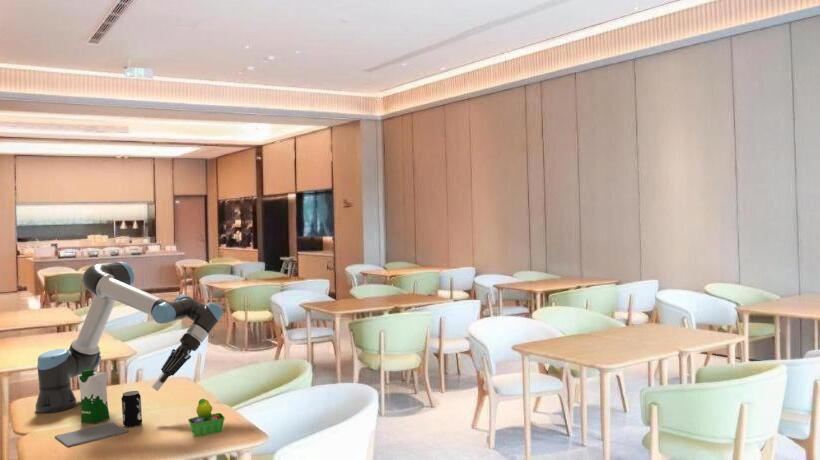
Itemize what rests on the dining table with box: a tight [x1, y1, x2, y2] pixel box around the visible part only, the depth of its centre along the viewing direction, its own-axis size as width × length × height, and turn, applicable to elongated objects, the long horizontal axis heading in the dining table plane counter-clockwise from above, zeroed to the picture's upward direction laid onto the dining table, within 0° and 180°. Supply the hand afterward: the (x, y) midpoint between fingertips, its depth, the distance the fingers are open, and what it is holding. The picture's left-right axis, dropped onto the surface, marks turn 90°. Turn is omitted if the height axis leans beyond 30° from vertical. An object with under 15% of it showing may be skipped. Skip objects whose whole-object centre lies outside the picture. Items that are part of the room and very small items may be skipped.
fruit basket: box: [187, 398, 226, 437], centre depth 240 cm, size 11×9×11 cm
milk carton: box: [76, 369, 111, 425], centre depth 262 cm, size 9×9×20 cm
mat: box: [54, 421, 129, 448], centre depth 244 cm, size 16×20×1 cm
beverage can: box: [121, 390, 143, 428], centre depth 253 cm, size 7×7×12 cm
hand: (154, 388), depth 259 cm, fingers closed
